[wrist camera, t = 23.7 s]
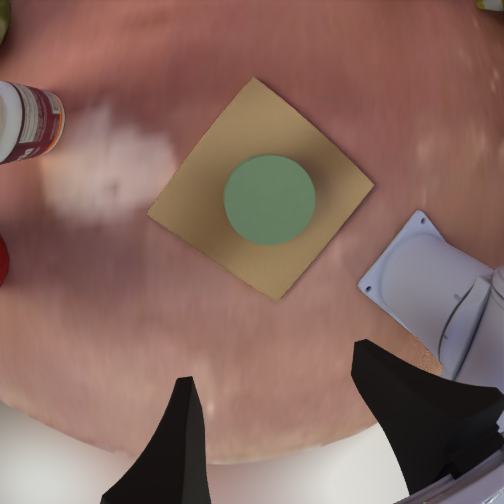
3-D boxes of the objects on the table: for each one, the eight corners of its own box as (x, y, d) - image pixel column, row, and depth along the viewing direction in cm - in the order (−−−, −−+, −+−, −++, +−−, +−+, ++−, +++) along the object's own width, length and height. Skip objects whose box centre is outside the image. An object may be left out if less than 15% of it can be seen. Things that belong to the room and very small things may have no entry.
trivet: (371, 183, 21) (374, 184, 21) (275, 298, 23) (276, 302, 23) (252, 77, 18) (253, 76, 17) (148, 212, 20) (146, 214, 19)
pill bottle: (12, 158, 17) (-64, 177, 9) (17, 94, 15) (-59, 87, 8) (64, 156, 18) (-8, 171, 10) (70, 87, 16) (1, 68, 8)
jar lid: (323, 192, 20) (333, 197, 19) (270, 252, 21) (275, 262, 20) (262, 136, 19) (267, 135, 17) (205, 201, 20) (205, 207, 18)
